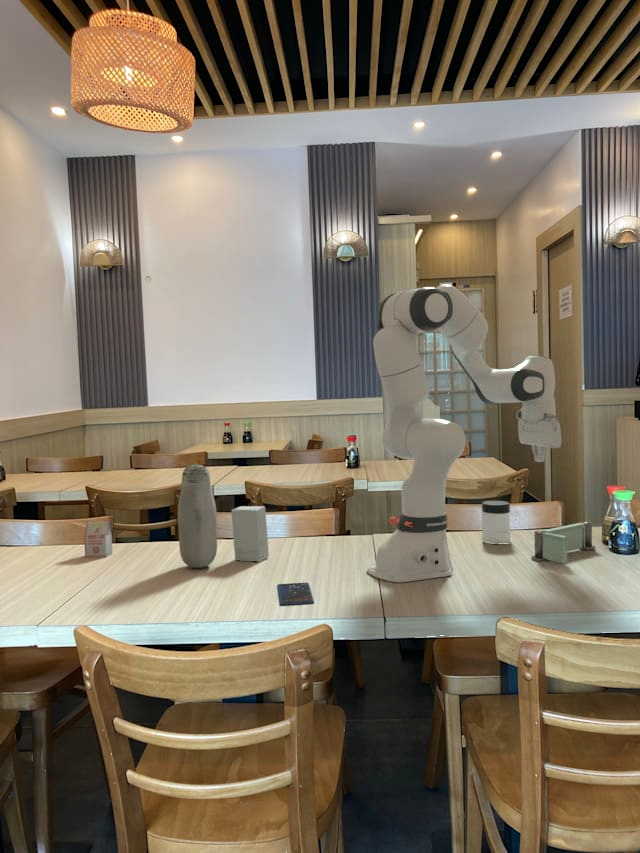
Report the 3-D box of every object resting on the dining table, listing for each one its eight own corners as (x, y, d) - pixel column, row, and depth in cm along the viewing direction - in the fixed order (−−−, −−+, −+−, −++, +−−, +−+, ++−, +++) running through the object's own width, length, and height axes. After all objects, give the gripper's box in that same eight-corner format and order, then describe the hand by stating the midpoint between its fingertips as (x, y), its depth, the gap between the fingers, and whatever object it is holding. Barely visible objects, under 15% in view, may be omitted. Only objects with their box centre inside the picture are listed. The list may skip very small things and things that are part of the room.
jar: (483, 538, 192) (483, 499, 192) (511, 539, 190) (510, 500, 189) (481, 544, 184) (480, 504, 183) (509, 546, 181) (508, 505, 181)
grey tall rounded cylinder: (175, 565, 170) (172, 464, 168) (211, 560, 174) (208, 461, 173) (185, 574, 161) (181, 467, 160) (223, 568, 166) (219, 464, 164)
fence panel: (563, 563, 158) (562, 537, 158) (542, 558, 164) (542, 533, 164) (567, 562, 159) (566, 536, 159) (546, 557, 165) (546, 532, 165)
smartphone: (279, 604, 134) (277, 583, 149) (279, 607, 134) (277, 587, 149) (314, 601, 135) (308, 582, 150) (314, 605, 135) (308, 585, 150)
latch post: (542, 562, 162) (541, 534, 162) (527, 559, 166) (527, 531, 166) (555, 559, 165) (555, 531, 165) (541, 555, 169) (541, 528, 169)
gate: (548, 556, 166) (548, 531, 165) (542, 554, 167) (542, 530, 167) (585, 547, 174) (585, 523, 174) (579, 546, 176) (579, 522, 175)
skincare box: (269, 557, 176) (267, 506, 175) (258, 563, 170) (257, 509, 169) (243, 555, 179) (241, 504, 178) (232, 560, 173) (230, 508, 173)
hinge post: (589, 551, 173) (588, 524, 173) (575, 548, 177) (575, 522, 176) (598, 548, 175) (598, 522, 175) (585, 545, 179) (584, 520, 179)
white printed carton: (91, 553, 186) (90, 521, 186) (112, 554, 185) (111, 521, 185) (85, 557, 183) (83, 523, 182) (106, 557, 182) (105, 523, 181)
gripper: (567, 413, 166) (567, 464, 167) (534, 412, 186) (534, 457, 187) (544, 414, 165) (545, 465, 166) (514, 413, 186) (514, 458, 186)
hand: (539, 461), depth 177 cm, fingers closed
